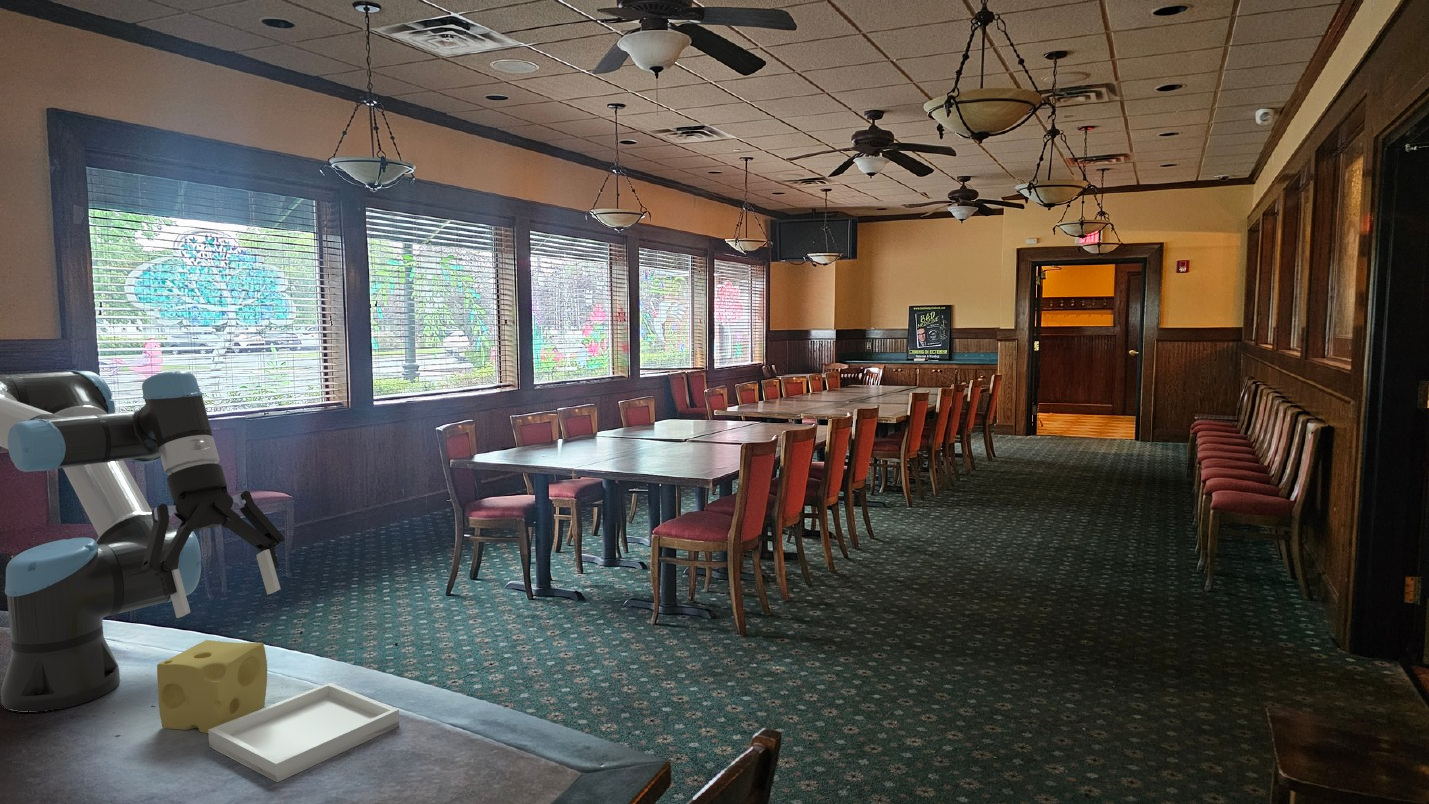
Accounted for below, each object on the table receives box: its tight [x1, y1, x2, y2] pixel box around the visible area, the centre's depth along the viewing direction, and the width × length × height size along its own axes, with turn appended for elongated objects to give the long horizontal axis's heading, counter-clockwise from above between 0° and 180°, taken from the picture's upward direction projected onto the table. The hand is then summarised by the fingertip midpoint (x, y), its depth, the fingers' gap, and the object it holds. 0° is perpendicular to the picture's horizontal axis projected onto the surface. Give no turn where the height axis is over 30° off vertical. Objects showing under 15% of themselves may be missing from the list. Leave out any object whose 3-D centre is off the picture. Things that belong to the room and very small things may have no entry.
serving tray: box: [207, 682, 400, 783], centre depth 128 cm, size 17×19×2 cm
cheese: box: [156, 639, 268, 734], centre depth 134 cm, size 10×11×10 cm
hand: (230, 603), depth 135 cm, fingers open, 13 cm apart
